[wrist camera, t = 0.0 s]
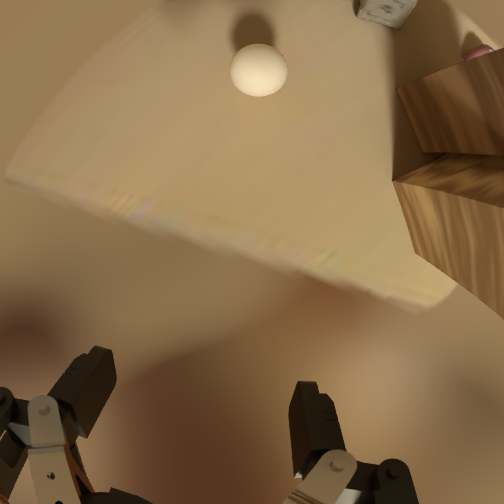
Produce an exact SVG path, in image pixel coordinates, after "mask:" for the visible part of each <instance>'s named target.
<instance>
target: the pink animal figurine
mask: <svg viewBox="0 0 504 504" xmlns="http://www.w3.org/2000/svg"><path fill="white" fill-rule="evenodd" d="M492 51H495V50H493V49H492V48H491V47H490V46H488V45H481V46H478V47H476V48H474V49H472V50H471V51H470V52H468V53H467V54H466V55H465V56H464V60H465V61H466V60H469V59H472V58H475V57H477V56H480V55H483V54H486V53H489V52H492Z"/></svg>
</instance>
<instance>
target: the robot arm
mask: <svg viewBox="0 0 504 504" xmlns="http://www.w3.org/2000/svg"><path fill="white" fill-rule="evenodd" d="M116 380H117V375H116V369H115V364H114V358H113V353H112V351H111V350H110V349H107V348H103V347H99V346H94V347H93V348H92V349H91V351H90V352H89V353H88V354H85V353H83V354H82V355H80V356H79V357H77V358H75V359H74V360H73V362H72V363H71V364H70V366H69V368H67V369H66V371H65V373H63V375H62V376H61V377H60V379H59V380H58V381H57V382H56V384H55V385H54V386H53V388H52V389H51V391H50V392H49V393H48V394H47V395H39V396H36V397H34V398H33V399H31V401H27V400H22V399H17V398H14V396H13V394H12V392H11V391H10V390H9V389H7V388H5V387H0V437H1V435H2V434H3V432H4V430H5V431H6V432H5V434H4V435H3V437H2V439H1V441H0V504H9V502H8V499H9V497H10V494H11V492H12V490H13V487H14V485H15V483H16V481H17V479H18V476H19V474H20V472H21V470H22V468H23V466H24V464H25V462H26V459H27V457H28V458H29V464H30V469H31V474H32V479H33V483H34V488H35V492H36V496H37V499H38V503H39V504H152V503H151V502H149V501H147V500H144V499H143V498H141V497H139V496H136V495H133V494H130V493H127V492H124V491H121V490H118V489H115V488H112V487H111V489H110V492H109V493H108V492H95V491H94V489H93V487H92V485H91V483H90V481H89V479H88V477H87V474H86V472H85V468H84V465H83V463H82V459H81V456H80V453H79V450H78V446H77V443H76V439H77V437H78V435H79V436H82V437H84V438H88V436H89V434H90V432H91V430H92V428H93V426H94V424H95V422H96V421H97V418H98V417H99V415H100V413H101V411H102V409H103V407H104V406H105V404H106V402H107V400H108V398H109V396H110V394H111V393H112V391H113V389H114V387H115V385H116ZM288 417H289V428H290V438H291V448H292V461H293V472H294V478H302V482H301V484H300V485H299V486H298V487H297V488H296V490H295V491H294V492H292V493H291V494H290V495H289V496H288V498H287V499H286V500H285V501H284V502H283V503H282V504H419V502H418V499H417V495H416V491H415V488H414V484H413V481H412V477H411V474H410V471H409V468H408V466H407V465H406V464H405V463H404V462H403V461H401V460H398V459H387V460H384V461H383V462H382V463H381V464H380V465H375V464H369V463H363V462H359V461H357V460H356V459H355V458H354V457H353V456H352V455H351V454H350V453H348V452H347V451H346V448H345V444H344V440H343V436H342V432H341V429H340V425H339V422H338V417H337V414H336V409H335V406H334V402H333V401H332V400H331V398H330V397H329V396H328V395H327V394H319V390H318V386H317V383H316V382H312V381H298V382H297V384H296V388H295V390H294V394H293V396H292V399H291V402H290V405H289V413H288Z"/></svg>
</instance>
